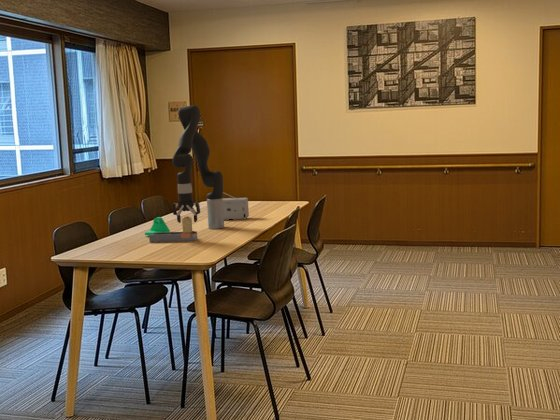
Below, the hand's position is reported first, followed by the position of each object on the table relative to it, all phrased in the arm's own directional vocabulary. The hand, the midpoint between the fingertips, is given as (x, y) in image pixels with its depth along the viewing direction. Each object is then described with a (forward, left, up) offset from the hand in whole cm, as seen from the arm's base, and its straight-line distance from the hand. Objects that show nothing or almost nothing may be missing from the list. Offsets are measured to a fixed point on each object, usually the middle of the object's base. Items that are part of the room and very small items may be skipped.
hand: (187, 222), depth 357 cm
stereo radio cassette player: (-70, +8, -10) cm, 71 cm away
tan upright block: (0, 0, -8) cm, 8 cm away
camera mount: (-16, -23, -10) cm, 30 cm away
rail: (0, -8, -10) cm, 13 cm away
